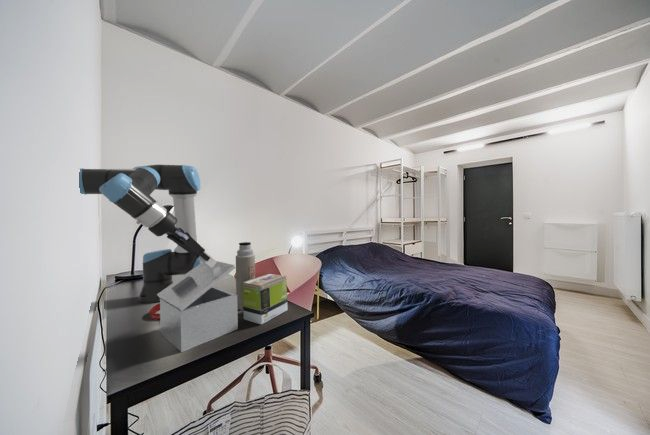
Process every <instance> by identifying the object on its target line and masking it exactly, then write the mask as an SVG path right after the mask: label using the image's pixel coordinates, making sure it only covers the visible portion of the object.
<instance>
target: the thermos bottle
mask: <svg viewBox="0 0 650 435" xmlns="http://www.w3.org/2000/svg"><path fill="white" fill-rule="evenodd" d="M251 244H252V243H251V242H249V241H248V242H247V241H245V242H238V245H239V249H238V250H237V251H236V254H237V255H235V282H236V284H235V287H236V288H235V290H236V291H235V292H236V293H235V294H236V295H237V310H239V311H240V310H241V311H243V290H242V282H245V281H248V280H251V279H254V278H256V256H255V254H254V250H253V249H252V246H251Z"/></svg>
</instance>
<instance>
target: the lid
mask: <svg viewBox="0 0 650 435" xmlns="http://www.w3.org/2000/svg"><path fill="white" fill-rule="evenodd" d="M216 261H217V263H216V264H215V265H214V266H213V268H210V267H208V266H207V265H206V264H205V263H203V262H202V263H201V264H199V265H198V266H196V267H195V268H194V269H192V270H191V271H189V272H188V273H186V274H185V275H181V277H180V278H178V279H177V280H175V281H173V283H172V284H171V285H170V286H168V287H167V288H165V289H164V290H162V291H161V292H160V293H158V294H157V295H158V297H160V298H161V299H163V300H164V301H166V302H168V303H169V304H171V305H173V306H174V307H176V308H177V309H179V310H181V311H183V310H184V309H185V308H187V307H188V306H189V305H190V304H191V303H193V302H194V301H195V300H196V299H198V298H199V297H200V296H201V295H203V294H204V293H205V292H206V291H208V290H209V289H210V288H211V287H212V286H214V287H215V285H216V284H217V283H219V282H220V281H221V280H223V278H225V277H226V276H227V275H228V274H230V273H231V272H232V271H233V270H236V265H235V264H231V263H227V262H222V261H218V260H216Z"/></svg>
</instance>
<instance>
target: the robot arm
mask: <svg viewBox="0 0 650 435" xmlns="http://www.w3.org/2000/svg"><path fill="white" fill-rule="evenodd" d="M79 169H80V172H79V188H80V193H81V194H80V195H103V196H104V197H105V198H106V199H108V201H109V202H110V203H113V205H115V206H116V207H118V208H119V209H120V210H123V211H124V212H125V213H126V214H128V215H129V216H130V217H132V218H133V219H134V220H136V222H135V224H137V225H140V224H141V225H142V226H143V227H145V228H147V230H148V231H149V232H150V233H152V234H153V235H155V236H156V237H161V236H164V235H167V236H166V238H167V239H169V240H170V241H171V242H173V243H175V244H176V247H175V248H174V249H173V250H172V249H171V248H167V249H166V248H165V249H159V250H154V251H153V250H152V251H150V252H145V253H144V254H143V256H142V262H141V263H142V276H143V278H142V280H143V283H142V287H141V290H140V292H139V295H138V302H140V303H142V304H152V303H158V302H159V303H160V297H158V295H157V294H158V293H160V292H161V291H162V290H164V289H165V288H167V287H168V286H170V285H171V284H172V283H174V281H173V276H184V275H185V274H186V273H188V272H189V271H191V270H192V269H194V268H195V267H196V266H198V265H199V264H201V263H202V262H203V263H205V264H206V265H207V266H208V267H210V268H213V266H214V265H215V264H216V263H217V261H218V260H215V258H213V257H212V256H211V255H209V254H208V253H207V252H206V249H205V248H204V247H202V246H201V244H199V242H198V239H197V236H198V235H197V227H196V226H197V225H196V212H195V201H194V200H195V197H196V196H197V194H198V191H200V190H201V178H200V175H199V172H198V170H197V168H196V167H194V166H192V165H186V164H182V165H181V164H179V165H178V164H151V165H150V164H149V165H143V166H140V165H139V166H138V165H137V166H135V167H133V168H79ZM155 190H160V191H168V195H169V196H170V197H171V198H172V202H173V212H174V215H173V214H172V213H171V212H170V211H168V210H167V208H165V207H164V206H163V205H162V204H161V203H160V202H159V201H157V200H155V199H154V198H153V197H152V196H151V194H153V192H155Z"/></svg>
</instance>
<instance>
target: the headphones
mask: <svg viewBox="0 0 650 435" xmlns="http://www.w3.org/2000/svg"><path fill="white" fill-rule="evenodd" d="M158 311H160V302H159V303H157V304H155V305H153V307H151V309H150V310H149V316H150V318H151V319H152V320H156V321H160V313H157V312H158Z"/></svg>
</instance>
